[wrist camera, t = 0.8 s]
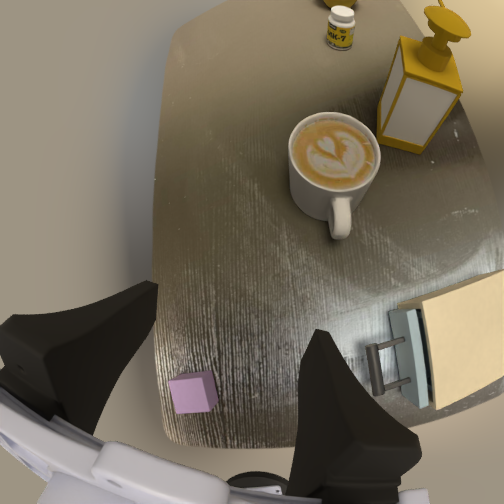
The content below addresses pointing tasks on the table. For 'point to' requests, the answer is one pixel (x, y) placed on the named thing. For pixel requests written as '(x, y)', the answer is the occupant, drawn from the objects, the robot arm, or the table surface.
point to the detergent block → (194, 392)
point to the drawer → (404, 358)
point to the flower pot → (339, 3)
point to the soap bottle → (421, 84)
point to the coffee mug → (331, 167)
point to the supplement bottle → (340, 28)
